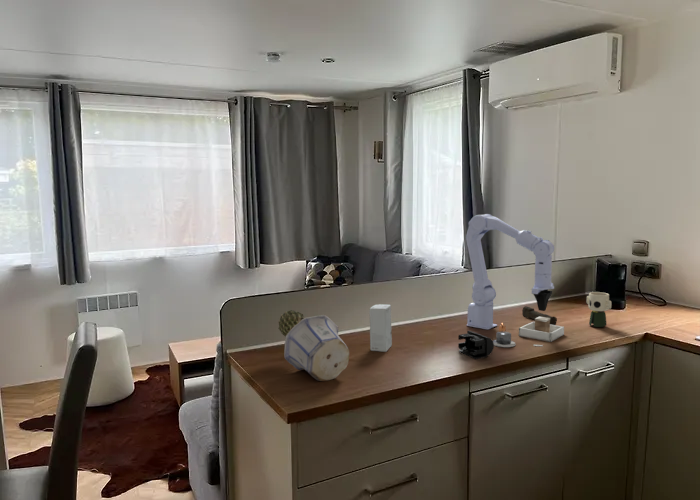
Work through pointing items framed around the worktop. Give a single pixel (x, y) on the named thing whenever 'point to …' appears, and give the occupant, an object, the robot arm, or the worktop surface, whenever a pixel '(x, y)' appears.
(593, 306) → the character mug
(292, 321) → the potted plant
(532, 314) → the hand tool
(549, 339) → the tray
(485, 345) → the end cap
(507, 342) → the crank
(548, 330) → the block
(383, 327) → the skincare box
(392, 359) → the worktop surface
